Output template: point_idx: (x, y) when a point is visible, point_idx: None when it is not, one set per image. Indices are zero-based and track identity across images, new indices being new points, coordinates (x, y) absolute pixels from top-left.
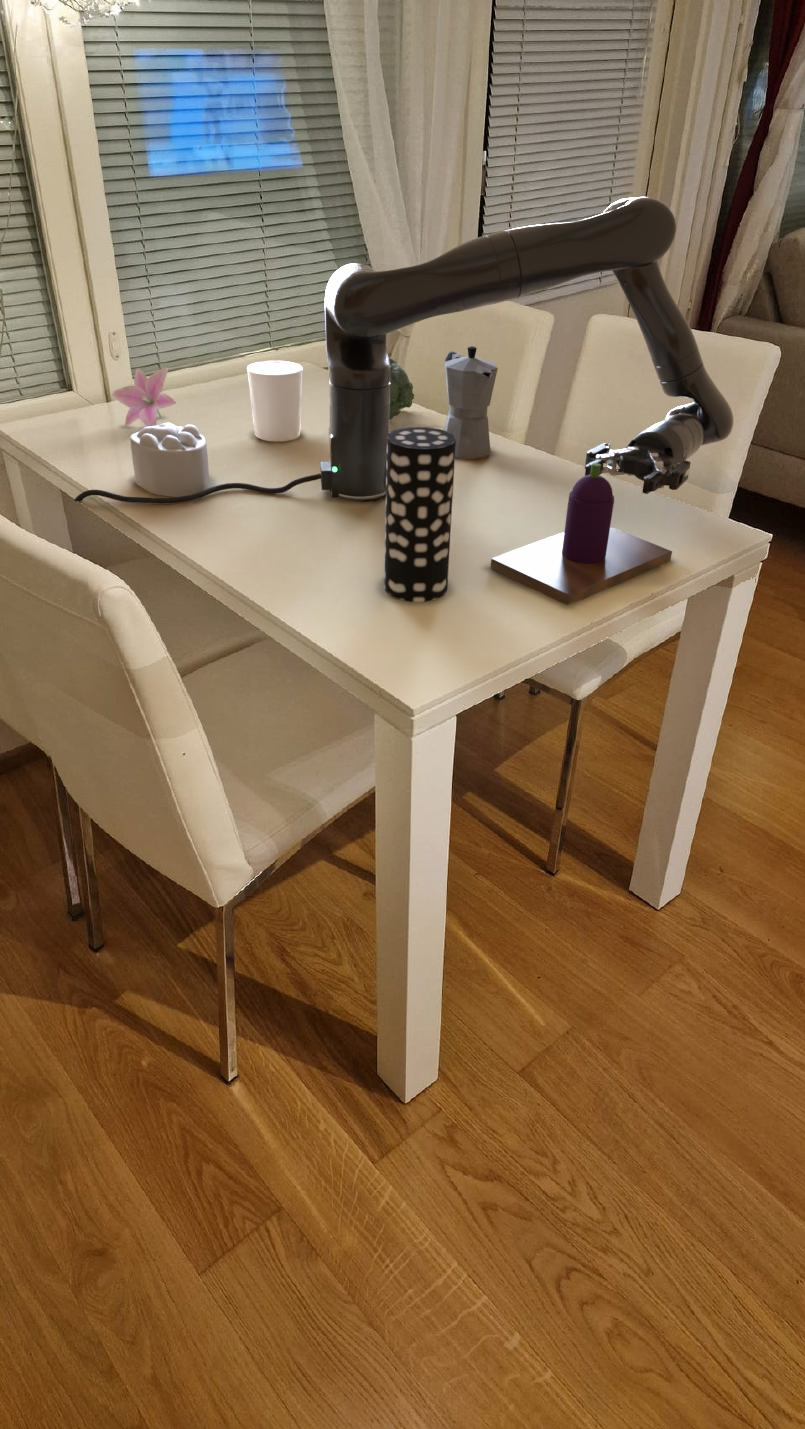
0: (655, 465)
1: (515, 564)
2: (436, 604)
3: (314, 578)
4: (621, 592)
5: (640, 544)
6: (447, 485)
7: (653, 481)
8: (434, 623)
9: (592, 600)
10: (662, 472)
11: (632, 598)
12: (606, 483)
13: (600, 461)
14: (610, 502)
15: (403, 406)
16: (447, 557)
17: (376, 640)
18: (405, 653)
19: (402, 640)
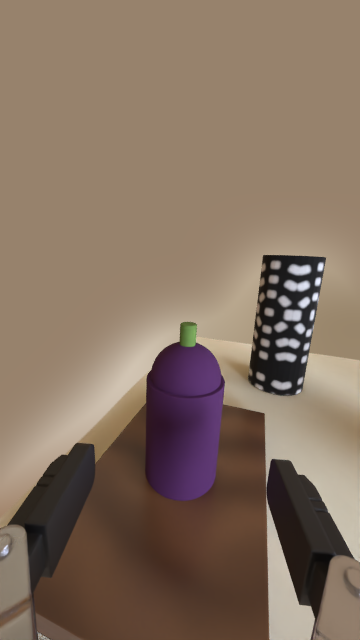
0: (27, 600)
1: (234, 412)
2: (242, 374)
3: (332, 372)
4: (108, 437)
5: (81, 582)
6: (259, 289)
7: (62, 457)
8: (224, 363)
9: (136, 413)
10: (6, 530)
11: (93, 431)
12: (163, 350)
13: (298, 520)
14: (149, 372)
15: None
16: (254, 353)
17: (235, 349)
18: (214, 347)
19: (225, 352)
